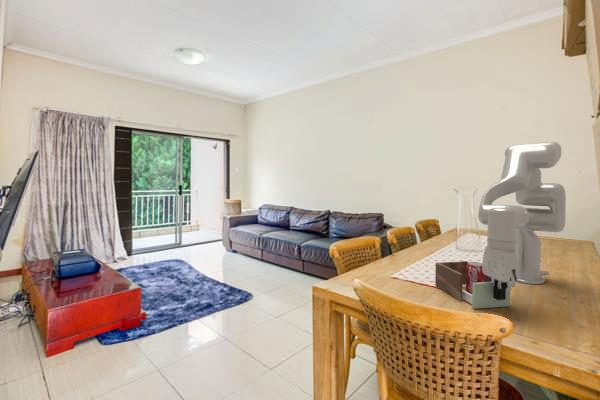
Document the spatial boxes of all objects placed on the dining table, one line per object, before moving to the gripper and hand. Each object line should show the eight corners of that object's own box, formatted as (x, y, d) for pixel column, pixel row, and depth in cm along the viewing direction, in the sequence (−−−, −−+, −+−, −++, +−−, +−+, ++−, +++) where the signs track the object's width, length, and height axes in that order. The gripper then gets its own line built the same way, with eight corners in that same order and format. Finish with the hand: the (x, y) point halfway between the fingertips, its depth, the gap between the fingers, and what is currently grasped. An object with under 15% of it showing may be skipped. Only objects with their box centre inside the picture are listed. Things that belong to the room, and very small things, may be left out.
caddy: (466, 284, 120) (466, 261, 119) (494, 298, 105) (495, 272, 104) (435, 286, 118) (435, 262, 117) (459, 301, 103) (460, 274, 102)
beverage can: (488, 299, 102) (489, 266, 101) (469, 298, 103) (470, 265, 102) (480, 292, 108) (481, 261, 107) (462, 291, 109) (463, 261, 108)
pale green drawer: (478, 289, 112) (478, 268, 112) (510, 306, 98) (510, 281, 97) (446, 291, 111) (447, 270, 110) (474, 308, 96) (474, 283, 96)
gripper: (473, 240, 100) (472, 291, 101) (510, 250, 85) (508, 309, 86) (493, 239, 101) (491, 289, 102) (532, 249, 86) (530, 308, 87)
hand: (499, 298), depth 94 cm, fingers closed
